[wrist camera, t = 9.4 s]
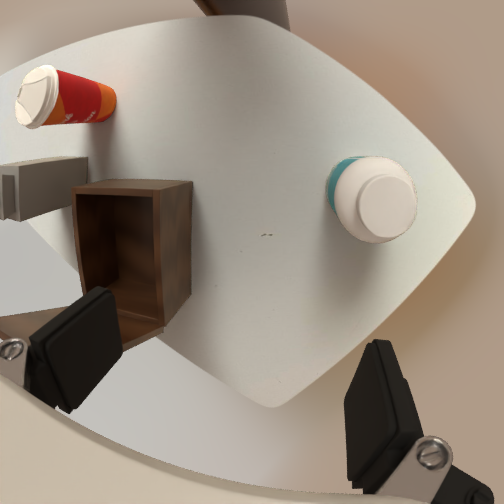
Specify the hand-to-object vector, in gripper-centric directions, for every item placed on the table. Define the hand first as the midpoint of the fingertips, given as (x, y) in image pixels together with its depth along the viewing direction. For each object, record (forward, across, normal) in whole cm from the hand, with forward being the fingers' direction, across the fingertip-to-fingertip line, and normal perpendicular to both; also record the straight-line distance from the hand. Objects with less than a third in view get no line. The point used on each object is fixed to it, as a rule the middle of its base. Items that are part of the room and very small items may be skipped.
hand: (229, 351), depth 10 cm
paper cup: (+26, +27, -13) cm, 40 cm away
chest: (+26, +18, +6) cm, 32 cm away
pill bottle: (+26, -8, -4) cm, 28 cm away
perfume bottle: (+26, +33, -2) cm, 42 cm away
